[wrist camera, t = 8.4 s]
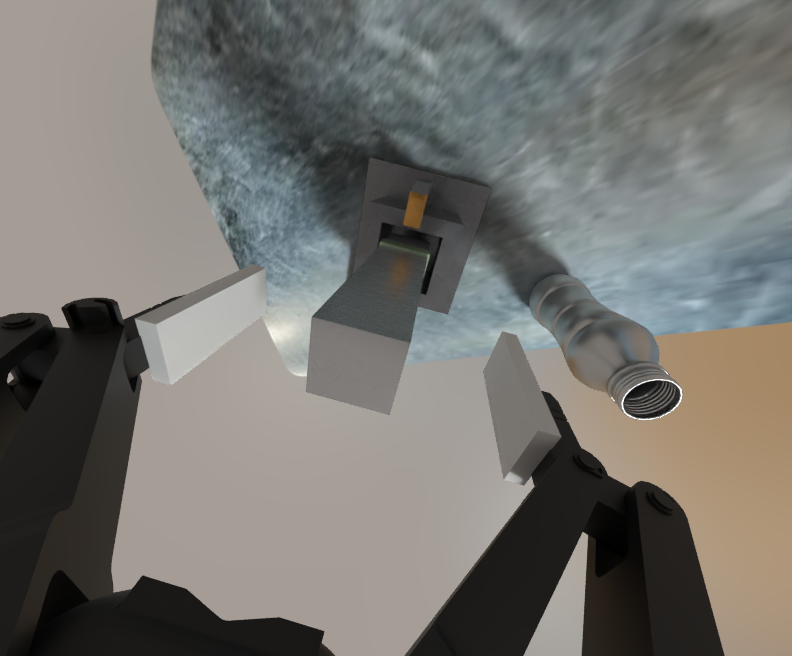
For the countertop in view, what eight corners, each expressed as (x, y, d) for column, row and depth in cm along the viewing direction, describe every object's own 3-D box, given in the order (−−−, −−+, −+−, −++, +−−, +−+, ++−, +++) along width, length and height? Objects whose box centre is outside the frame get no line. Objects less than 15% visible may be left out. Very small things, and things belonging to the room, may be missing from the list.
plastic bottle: (520, 316, 38) (584, 431, 21) (530, 268, 35) (616, 355, 18) (571, 319, 38) (682, 440, 20) (586, 269, 34) (733, 362, 17)
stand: (371, 157, 32) (336, 147, 22) (490, 187, 32) (513, 192, 21) (352, 286, 40) (319, 324, 30) (447, 311, 40) (449, 358, 29)
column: (391, 230, 28) (308, 312, 11) (432, 241, 28) (414, 341, 11) (382, 273, 31) (302, 398, 13) (420, 283, 31) (390, 423, 13)
